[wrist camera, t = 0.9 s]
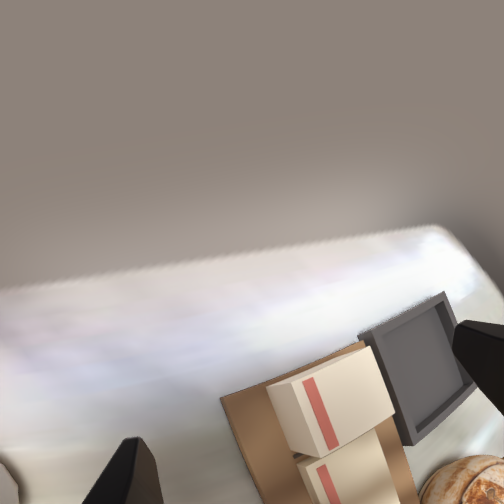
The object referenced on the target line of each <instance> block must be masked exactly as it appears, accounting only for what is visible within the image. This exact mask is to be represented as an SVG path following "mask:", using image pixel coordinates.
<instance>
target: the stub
mask: <svg viewBox="0 0 504 504" xmlns="http://www.w3.org/2000/svg"><path fill="white" fill-rule="evenodd" d="M266 390H267V392H268V395H269V397H270V400H271V402H272V405H273V408H274V410H275V413H276V415H277V418H278V420H279V423H280V425H281V428H282V430H283V433H284V435H285V438H286V440H287V443H288V445H289V448H290V450H292V451H296V452H299V453H303V454H306V455H310V456H314V457H318V458H322V457H324V456H326V455H328V454H330V453H331V452H333V451H335V450H337V449H338V448H340V447H342V446H344V445H345V444H347V443H349V442H351V441H352V440H354V439H356V438H357V437H359V436H360V435H362V434H364V433H365V432H367V431H369V430H370V429H372V428H373V427H375V426H376V425H378V424H379V423H381V422H382V421H384V420H385V419H387V418H388V417H390V416H391V415H393V414H394V413H395V410H394V408H393V405H392V402H391V399H390V397H389V394H388V391H387V388H386V386H385V383H384V380H383V378H382V375H381V373H380V370H379V367H378V365H377V362H376V360H375V357H374V355H373V352H372V350H371V347H370V346H368V347H365V348H362V349H359V350H356V351H353V352H350V353H347V354H344V355H341V356H338V357H335V358H333V359H331V360H329V361H326V362H324V363H322V364H320V365H318V366H315V367H313V368H311V369H308V370H306V371H304V372H301V373H299V374H297V375H294V376H292V377H289V378H287V379H285V380H282V381H280V382H277V383H275V384H272V385H269V386H267V387H266Z"/></svg>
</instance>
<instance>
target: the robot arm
mask: <svg viewBox="0 0 504 504" xmlns="http://www.w3.org/2000/svg"><path fill="white" fill-rule="evenodd" d="M452 352H453V355H454V356H455V357H456V359H457V360H458V361H459V362H460V364H461V365H462V366H463V368H464V369H465V370H466V372H467V373H468V374H469V376H470V377H471V378H472V380H473V381H474V382H475V384H476V385H477V386H478V388H479V389H480V390H481V391H482V392H483V393H484V394H485V396H486V397H487V398H488V399H489V400H490V401H491V402H492V403H493V404H494V406H495V407H496V408H497V409H498V410H499V411H500V412H501V414H502V415H503V416H504V325H500V324H493V323H486V322H479V321H472V320H464V321H462V322H460V323H459V324H457V325H456V326H455V328H454V333H453V340H452ZM82 504H164V502H163V497H162V492H161V487H160V482H159V477H158V472H157V466H156V462H155V459H154V456H153V455H152V453H151V452H150V450H149V448H148V447H147V445H146V444H145V442H144V441H143V439H142V438H141V437H138V436H137V437H131V438H126V439H124V440H123V441H122V443H121V444H120V446H119V447H118V449H117V450H116V452H115V453H114V455H113V456H112V458H111V460H110V461H109V463H108V464H107V466H106V467H105V469H104V470H103V472H102V473H101V475H100V476H99V478H98V479H97V481H96V482H95V484H94V486H93V487H92V489H91V490H90V492H89V493H88V495H87V496H86V498H85V499H84V501H83V502H82Z"/></svg>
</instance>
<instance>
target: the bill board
mask: <svg viewBox="0 0 504 504" xmlns="http://www.w3.org/2000/svg"><path fill="white" fill-rule="evenodd" d="M365 347H366V346H365V343H364V341H363V340H362V341H359V342H357V343H354V344H352V345H350V346H348V347H346V348H344V349H342V350H339V351H337V352H335V353H333V354H331V355H328V356H326V357H324V358H322V359H319V360H317V361H315V362H312V363H310V364H308V365H305V366H303V367H301V368H298V369H296V370H293V371H291V372H289V373H286V374H284V375H281V376H279V377H276V378H273V379H271V380H268V381H266V382H263V383H260V384H258V385H255V386H252V387H250V388H247V389H244V390H241V391H238V392H236V393H233V394H230V395H227V396H224V397H221V398H220V400H221V402H222V405H223V408H224V410H225V413H226V415H227V418H228V420H229V423H230V425H231V428H232V430H233V433H234V435H235V438H236V440H237V443H238V445H239V448H240V450H241V452H242V455H243V457H244V460H245V462H246V464H247V467H248V469H249V471H250V473H251V476H252V478H253V480H254V483H255V485H256V487H257V489H258V491H259V494H260V496H261V498H262V500H263V502H264V504H420V501H419V497H418V494H417V491H416V487H415V484H414V481H413V477H412V474H411V471H410V468H409V465H408V462H407V459H406V455H405V452H404V449H403V446H402V443H401V440H400V437H399V435H398V432H397V429H396V426H395V423H394V420H393V417H392V415H391V416H390V417H388V418H387V419H385V420H384V421H382V422H381V423H379V424H378V425H376V426H375V427H373V428H372V429H370V430H369V431H367V432H365V433H364V434H362V435H360V436H359V437H357V438H356V439H354V440H352V441H351V442H349V443H347V444H345V445H344V446H342V447H340V448H338V449H337V450H335V451H333V452H331V453H330V454H328V455H326V456H324V457H322V458H318V457H314V456H310V455H306V454H303V453H299V452H296V451H292V450H290V448H289V445H288V443H287V440H286V438H285V435H284V433H283V430H282V428H281V425H280V423H279V420H278V418H277V415H276V413H275V410H274V408H273V405H272V402H271V400H270V397H269V395H268V392H267V390H266V387H267V386H269V385H272V384H275V383H277V382H280V381H282V380H285V379H287V378H289V377H292V376H294V375H297V374H299V373H301V372H304V371H306V370H308V369H311V368H313V367H315V366H318V365H320V364H322V363H324V362H326V361H329V360H331V359H333V358H335V357H338V356H341V355H344V354H347V353H350V352H353V351H356V350H359V349H362V348H365Z"/></svg>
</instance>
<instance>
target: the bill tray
mask: <svg viewBox="0 0 504 504" xmlns="http://www.w3.org/2000/svg"><path fill="white" fill-rule="evenodd" d="M457 324H458V323H457V321H456V318H455V316H454V313H453V311H452V308H451V306H450V303H449V301H448V299H447V296H446V294H445V292H444V291H443V292H441V293H439V294H437V295H435V296H434V297H432V298H430V299H428V300H426V301H424V302H423V303H421V304H419V305H417V306H415V307H413V308H411V309H410V310H408V311H406V312H404V313H402V314H400V315H398V316H396V317H394V318H392V319H390V320H388V321H386V322H384V323H382V324H380V325H378V326H376V327H374V328H372V329H370V330H368V331H366V332H364V333H362V334H360V335H358V339H359V341H362V340H363V341H364V343H365V346H366V347H368V346H370V347H371V350H372V352H373V355H374V357H375V360H376V362H377V365H378V367H379V370H380V373H381V375H382V378H383V380H384V383H385V386H386V388H387V391H388V394H389V397H390V399H391V402H392V405H393V408H394V410H395V413H394V414H393V415H392V417H393V420H394V423H395V426H396V429H397V432H398V435H399V437H400V440H401V443H402V446H414V445H416V444H417V443H418V442H419V441H420V440H422V439H423V438H424V437H425V436H426V435H428V434H429V433H430V432H431V431H432V430H433V429H435V428H436V427H437V426H438V425H439V424H440V423H441V422H442V421H444V420H445V419H446V418H447V417H448V416H449V415H450V414H451V413H452V412H453V411H454V410H455V409H456V408H457V407H458V406H459V405H461V404H462V403H463V402H464V401H465V400H466V399H467V398H468V397H469V396H470V394H471V393H472V392H473V391H474V390H475V389H476V388H477V387H478V386H477V385H476V384H475V382H474V381H473V380H472V378H471V377H470V376H469V374H468V373H467V372H466V370H465V369H464V368H463V366H462V365H461V364H460V362H459V361H458V360H457V359H456V357H455V356H454V355H453V352H452V340H453V333H454V328H455V326H456V325H457Z"/></svg>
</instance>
